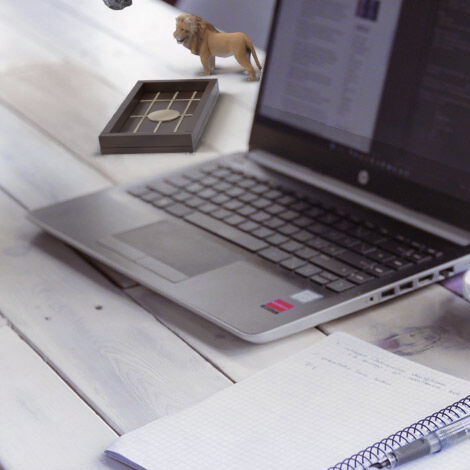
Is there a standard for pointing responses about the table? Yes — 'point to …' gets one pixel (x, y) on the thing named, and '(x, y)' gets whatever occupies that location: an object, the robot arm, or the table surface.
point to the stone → (117, 4)
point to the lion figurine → (214, 44)
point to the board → (160, 117)
